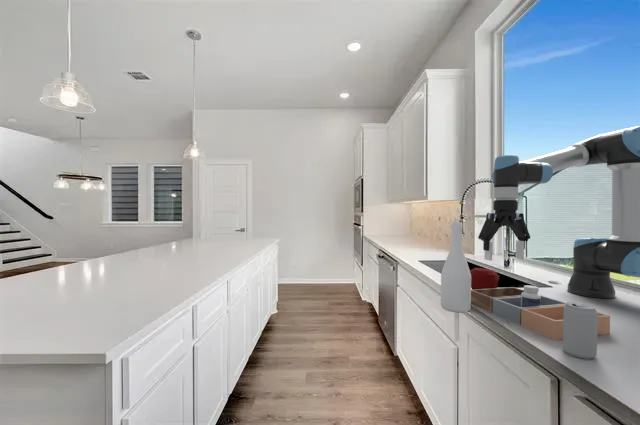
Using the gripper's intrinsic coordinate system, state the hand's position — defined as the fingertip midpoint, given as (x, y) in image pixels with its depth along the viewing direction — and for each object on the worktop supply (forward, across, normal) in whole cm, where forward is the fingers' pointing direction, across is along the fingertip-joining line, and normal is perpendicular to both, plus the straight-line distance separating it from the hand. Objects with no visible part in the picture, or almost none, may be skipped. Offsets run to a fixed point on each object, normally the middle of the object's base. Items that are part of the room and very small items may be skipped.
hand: (504, 259), depth 113 cm
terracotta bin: (+17, 0, +22) cm, 28 cm away
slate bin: (+17, 0, +11) cm, 20 cm away
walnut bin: (+17, 0, 0) cm, 17 cm away
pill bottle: (+17, 0, +11) cm, 20 cm away
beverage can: (+17, +12, +35) cm, 41 cm away
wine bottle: (+17, +19, -1) cm, 25 cm away
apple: (+17, -3, -13) cm, 22 cm away
